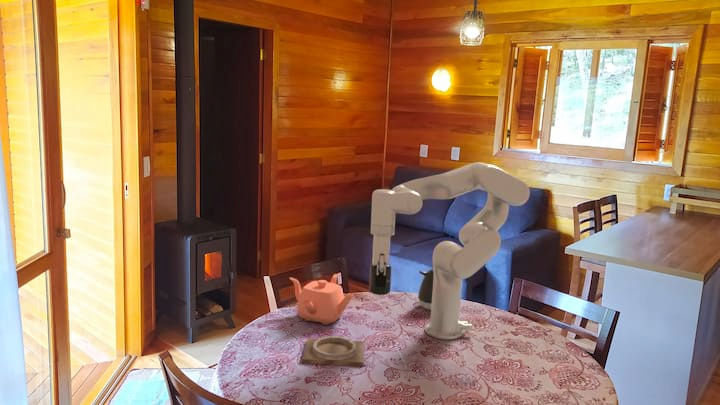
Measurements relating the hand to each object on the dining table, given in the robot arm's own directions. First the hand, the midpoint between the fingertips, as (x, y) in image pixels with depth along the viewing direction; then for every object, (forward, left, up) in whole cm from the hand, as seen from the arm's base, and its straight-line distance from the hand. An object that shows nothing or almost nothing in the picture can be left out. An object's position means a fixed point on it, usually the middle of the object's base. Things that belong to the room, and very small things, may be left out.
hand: (380, 282), depth 172 cm
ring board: (+13, +12, -19) cm, 26 cm away
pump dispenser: (-21, -30, -20) cm, 41 cm away
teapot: (+20, -15, -20) cm, 32 cm away
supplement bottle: (0, 0, -3) cm, 3 cm away
